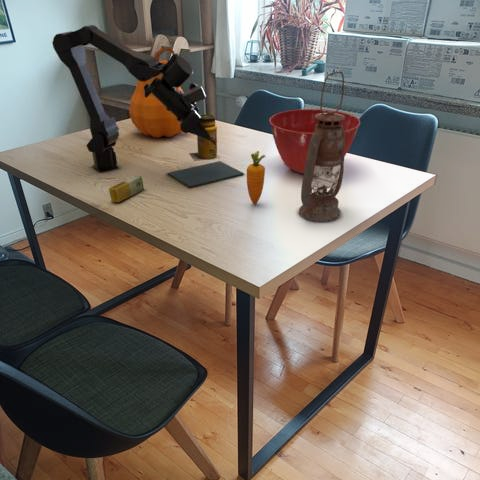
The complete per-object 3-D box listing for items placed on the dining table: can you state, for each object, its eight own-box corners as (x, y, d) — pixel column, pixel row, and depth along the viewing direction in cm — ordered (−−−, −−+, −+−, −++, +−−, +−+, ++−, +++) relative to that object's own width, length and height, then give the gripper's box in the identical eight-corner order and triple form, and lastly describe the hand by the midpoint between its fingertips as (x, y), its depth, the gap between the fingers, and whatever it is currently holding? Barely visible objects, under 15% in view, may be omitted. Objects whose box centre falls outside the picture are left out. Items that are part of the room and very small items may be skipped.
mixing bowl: (259, 179, 154) (261, 128, 145) (275, 151, 177) (278, 105, 167) (350, 187, 149) (358, 135, 140) (355, 157, 171) (362, 111, 162)
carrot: (253, 199, 141) (254, 147, 132) (267, 204, 139) (269, 150, 130) (242, 205, 138) (243, 151, 129) (256, 209, 136) (257, 155, 127)
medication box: (137, 188, 148) (135, 175, 145) (144, 189, 146) (142, 176, 144) (111, 201, 139) (108, 187, 137) (118, 202, 138) (115, 188, 136)
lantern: (284, 216, 132) (294, 73, 111) (321, 199, 142) (336, 64, 121) (317, 229, 126) (333, 80, 105) (353, 210, 135) (374, 70, 115)
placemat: (189, 188, 148) (189, 186, 148) (167, 174, 157) (167, 172, 157) (243, 174, 157) (243, 173, 157) (219, 162, 166) (219, 161, 166)
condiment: (220, 159, 152) (220, 118, 145) (194, 161, 150) (192, 120, 143) (214, 151, 158) (213, 112, 151) (188, 154, 156) (186, 114, 148)
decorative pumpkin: (192, 124, 204) (188, 42, 186) (191, 141, 185) (186, 51, 167) (135, 125, 203) (125, 42, 185) (128, 142, 184) (116, 52, 166)
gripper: (190, 81, 132) (230, 123, 140) (186, 69, 147) (223, 107, 155) (163, 113, 136) (204, 152, 144) (162, 97, 151) (199, 133, 159)
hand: (208, 135), depth 150 cm, fingers closed on condiment, 6 cm apart
